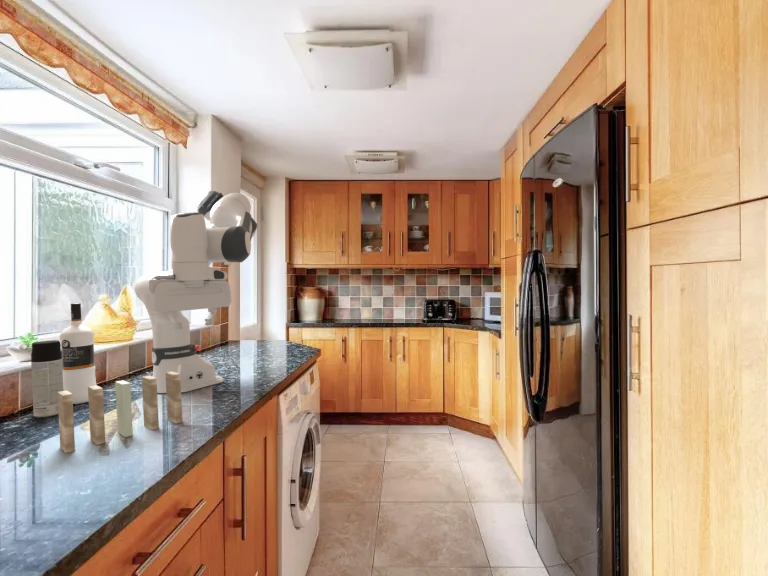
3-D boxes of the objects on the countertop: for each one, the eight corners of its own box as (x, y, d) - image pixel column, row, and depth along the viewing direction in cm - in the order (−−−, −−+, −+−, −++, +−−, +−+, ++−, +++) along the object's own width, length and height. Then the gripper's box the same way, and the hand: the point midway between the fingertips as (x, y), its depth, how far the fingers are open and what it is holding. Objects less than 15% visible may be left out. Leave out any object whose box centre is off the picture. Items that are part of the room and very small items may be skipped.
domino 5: (174, 418, 108) (172, 371, 108) (182, 421, 105) (180, 373, 104) (167, 419, 107) (165, 372, 106) (175, 423, 103) (173, 375, 103)
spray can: (62, 408, 120) (59, 339, 120) (66, 413, 115) (62, 341, 115) (32, 414, 116) (28, 342, 115) (35, 419, 111) (31, 344, 110)
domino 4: (151, 424, 104) (148, 375, 104) (158, 428, 100) (156, 378, 100) (144, 425, 103) (141, 376, 102) (151, 430, 99) (149, 379, 99)
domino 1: (69, 445, 92) (66, 390, 91) (75, 450, 88) (72, 393, 88) (60, 447, 90) (57, 392, 90) (65, 453, 87) (62, 395, 87)
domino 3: (125, 430, 100) (123, 380, 99) (132, 435, 96) (130, 383, 96) (117, 432, 98) (115, 381, 98) (124, 437, 95) (122, 384, 95)
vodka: (105, 397, 131) (100, 301, 130) (74, 406, 122) (69, 303, 122) (85, 395, 134) (81, 302, 134) (54, 404, 126) (48, 304, 125)
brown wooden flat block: (98, 437, 96) (96, 385, 95) (105, 442, 92) (102, 388, 92) (90, 439, 94) (87, 386, 94) (96, 444, 91) (94, 389, 91)
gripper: (154, 274, 99) (157, 333, 100) (233, 272, 115) (235, 323, 115) (143, 275, 103) (146, 331, 104) (220, 273, 119) (223, 322, 119)
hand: (194, 327), depth 110 cm, fingers open, 7 cm apart
